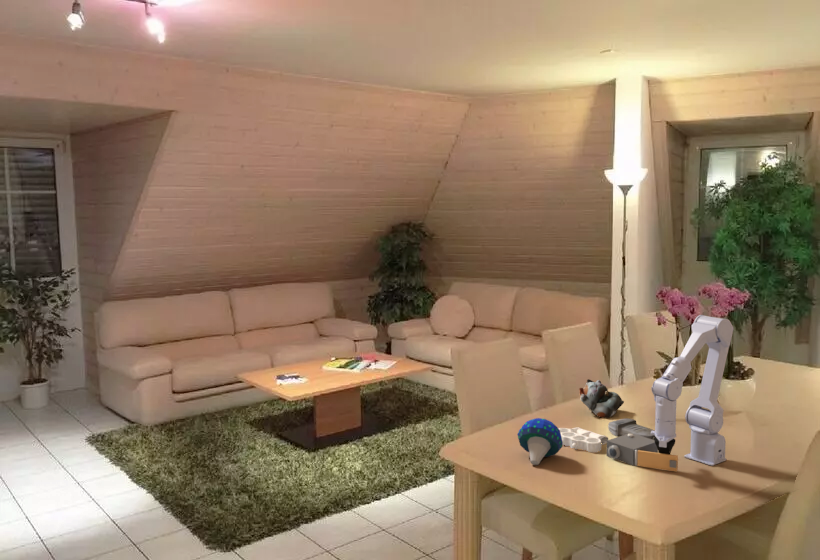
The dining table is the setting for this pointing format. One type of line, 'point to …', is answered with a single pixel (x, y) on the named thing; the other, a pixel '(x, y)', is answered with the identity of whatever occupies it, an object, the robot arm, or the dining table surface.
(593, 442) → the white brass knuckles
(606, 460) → the dining table surface
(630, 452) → the grey box with knob
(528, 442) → the mushroom
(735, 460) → the dining table surface
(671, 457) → the side door
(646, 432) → the handheld device
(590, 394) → the lucky cat figurine
